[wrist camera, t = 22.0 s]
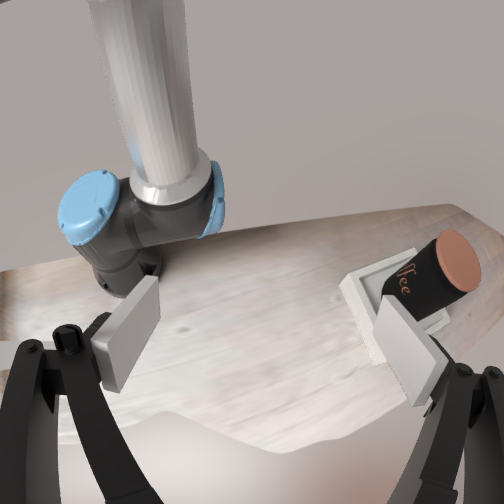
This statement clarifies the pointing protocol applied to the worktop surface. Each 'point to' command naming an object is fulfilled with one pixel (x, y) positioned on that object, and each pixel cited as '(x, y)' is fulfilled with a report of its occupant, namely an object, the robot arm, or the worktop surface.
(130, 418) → the worktop surface
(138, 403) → the worktop surface
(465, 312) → the worktop surface
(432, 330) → the white square tray
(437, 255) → the coffee jar
